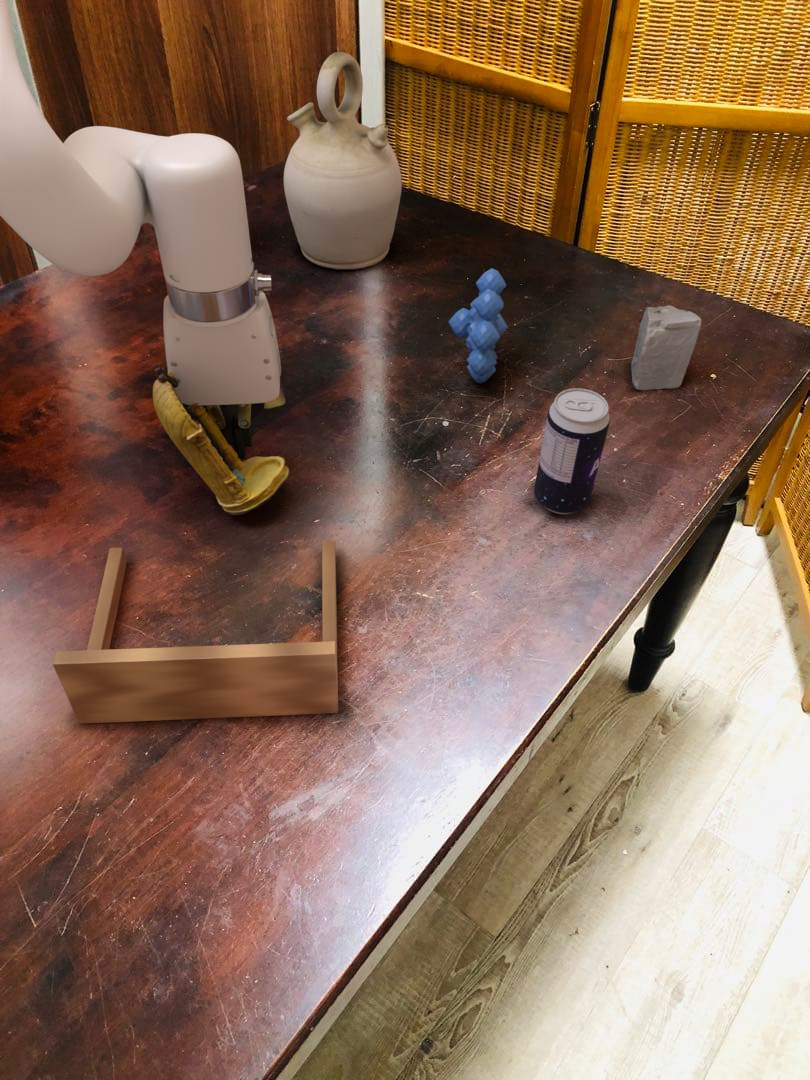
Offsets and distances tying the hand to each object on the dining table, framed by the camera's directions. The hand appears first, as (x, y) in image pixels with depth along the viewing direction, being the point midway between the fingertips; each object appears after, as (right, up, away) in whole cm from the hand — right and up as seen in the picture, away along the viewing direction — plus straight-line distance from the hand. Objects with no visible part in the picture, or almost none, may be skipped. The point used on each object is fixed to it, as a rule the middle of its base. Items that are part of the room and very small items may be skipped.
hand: (238, 450), depth 89 cm
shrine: (0, -5, -2) cm, 5 cm away
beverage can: (+33, -5, -1) cm, 33 cm away
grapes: (+25, +11, +14) cm, 31 cm away
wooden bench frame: (+1, -17, -13) cm, 21 cm away
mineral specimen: (+46, +11, +15) cm, 50 cm away
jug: (+9, +31, +33) cm, 46 cm away
